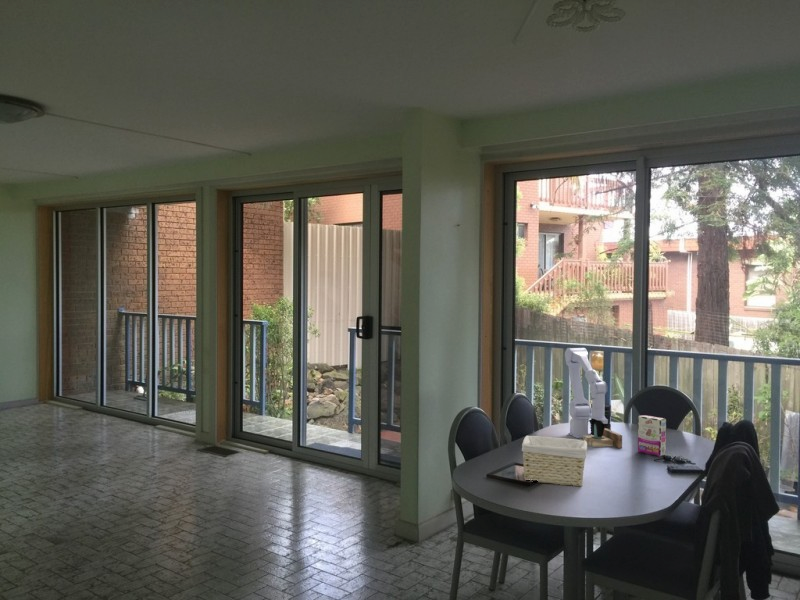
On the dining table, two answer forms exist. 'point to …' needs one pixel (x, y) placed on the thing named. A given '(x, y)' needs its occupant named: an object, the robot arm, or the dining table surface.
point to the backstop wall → (613, 437)
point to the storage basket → (554, 460)
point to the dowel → (596, 433)
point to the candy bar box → (652, 435)
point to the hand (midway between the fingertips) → (597, 435)
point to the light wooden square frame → (598, 441)
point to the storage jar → (606, 415)
